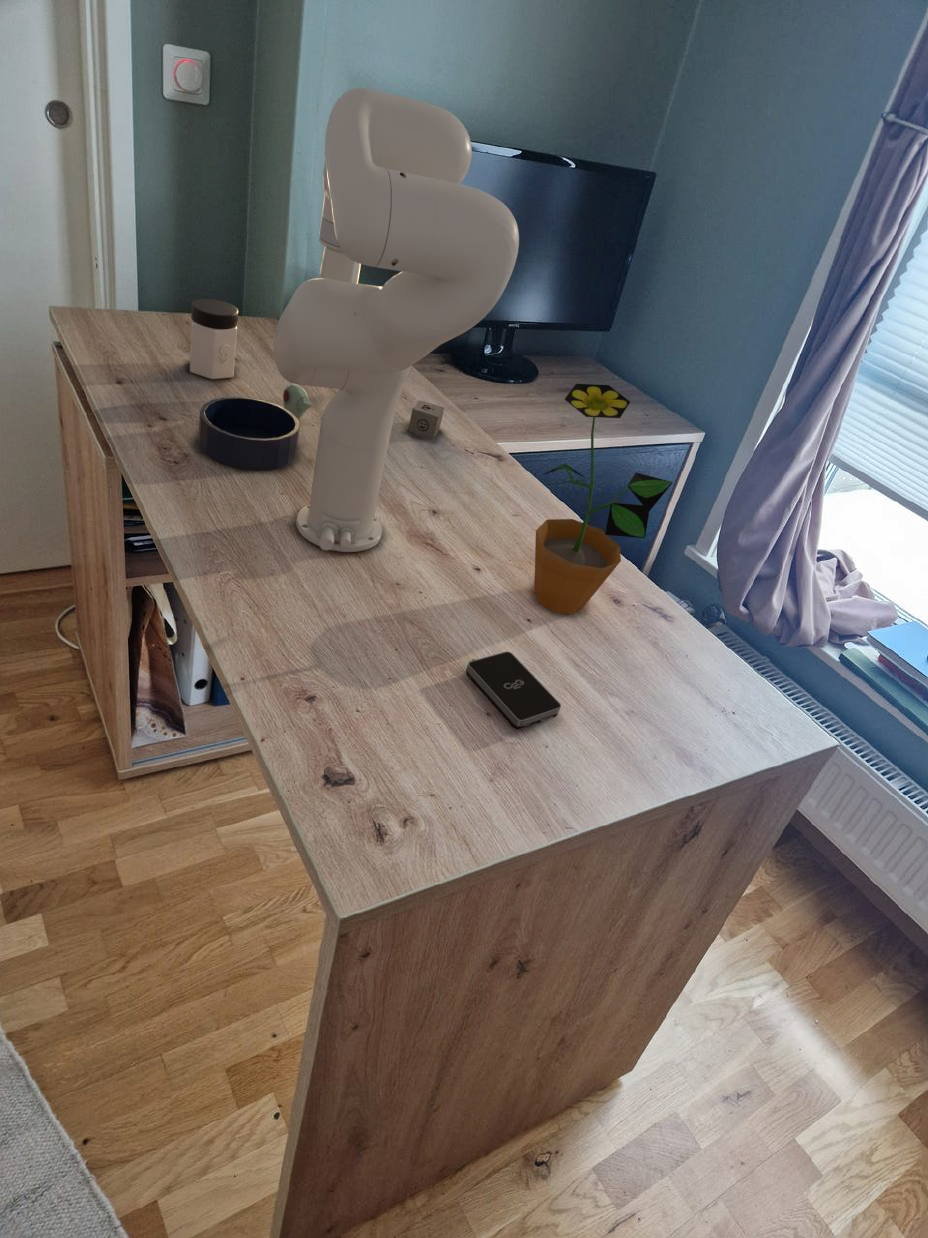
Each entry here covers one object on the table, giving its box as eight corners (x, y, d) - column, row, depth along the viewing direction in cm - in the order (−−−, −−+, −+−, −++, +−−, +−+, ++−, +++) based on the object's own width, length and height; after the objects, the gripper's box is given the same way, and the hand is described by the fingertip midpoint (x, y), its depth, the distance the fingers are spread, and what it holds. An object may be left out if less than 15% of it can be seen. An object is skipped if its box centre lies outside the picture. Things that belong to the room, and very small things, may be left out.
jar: (201, 381, 151) (204, 316, 144) (178, 363, 155) (180, 299, 148) (244, 377, 157) (249, 314, 150) (221, 359, 161) (225, 297, 154)
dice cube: (414, 424, 158) (419, 399, 155) (438, 431, 158) (444, 407, 155) (407, 433, 154) (412, 408, 151) (432, 441, 154) (438, 416, 151)
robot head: (312, 430, 146) (317, 394, 142) (291, 431, 143) (295, 394, 139) (293, 409, 150) (298, 374, 147) (272, 410, 148) (276, 374, 144)
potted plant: (477, 567, 123) (532, 375, 105) (581, 562, 131) (649, 383, 113) (529, 644, 110) (602, 441, 93) (641, 633, 119) (727, 445, 101)
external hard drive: (514, 734, 96) (519, 722, 95) (461, 674, 102) (465, 661, 101) (558, 718, 100) (563, 706, 99) (504, 661, 106) (508, 649, 105)
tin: (288, 478, 130) (291, 448, 127) (188, 458, 128) (189, 427, 125) (301, 437, 143) (305, 408, 140) (210, 418, 140) (212, 389, 137)
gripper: (328, 217, 123) (313, 337, 134) (311, 241, 110) (296, 372, 121) (377, 229, 124) (358, 348, 135) (366, 255, 111) (346, 384, 122)
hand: (329, 358), depth 128 cm, fingers closed on lid, 2 cm apart
